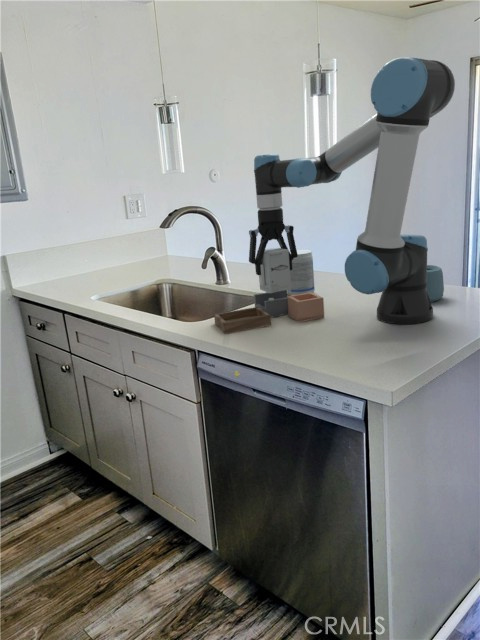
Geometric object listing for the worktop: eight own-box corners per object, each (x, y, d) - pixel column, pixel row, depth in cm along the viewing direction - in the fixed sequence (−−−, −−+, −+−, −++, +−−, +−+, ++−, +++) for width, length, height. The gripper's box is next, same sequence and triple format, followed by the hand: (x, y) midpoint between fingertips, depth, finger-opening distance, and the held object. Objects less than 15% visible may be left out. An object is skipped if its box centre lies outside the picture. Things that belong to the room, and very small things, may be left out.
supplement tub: (320, 292, 182) (318, 250, 178) (299, 298, 177) (296, 255, 173) (302, 288, 190) (300, 248, 186) (281, 294, 185) (278, 252, 181)
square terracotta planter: (324, 317, 154) (323, 297, 152) (299, 321, 152) (297, 301, 150) (312, 311, 161) (311, 292, 159) (288, 315, 159) (287, 296, 157)
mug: (398, 293, 172) (398, 263, 169) (433, 290, 171) (433, 260, 168) (411, 305, 158) (411, 272, 155) (449, 302, 157) (449, 269, 154)
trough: (271, 325, 151) (270, 315, 150) (224, 333, 147) (223, 323, 146) (259, 316, 161) (258, 306, 160) (215, 323, 157) (214, 314, 157)
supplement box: (270, 294, 159) (267, 252, 155) (259, 289, 165) (256, 250, 162) (291, 289, 162) (289, 249, 158) (279, 285, 168) (277, 246, 164)
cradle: (300, 312, 161) (299, 294, 160) (267, 318, 158) (265, 300, 157) (286, 303, 172) (285, 287, 170) (255, 309, 169) (253, 292, 167)
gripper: (296, 204, 162) (300, 276, 169) (233, 211, 157) (239, 285, 164) (306, 205, 155) (310, 280, 162) (240, 213, 150) (247, 290, 157)
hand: (275, 282), depth 163 cm, fingers closed on supplement box, 8 cm apart
